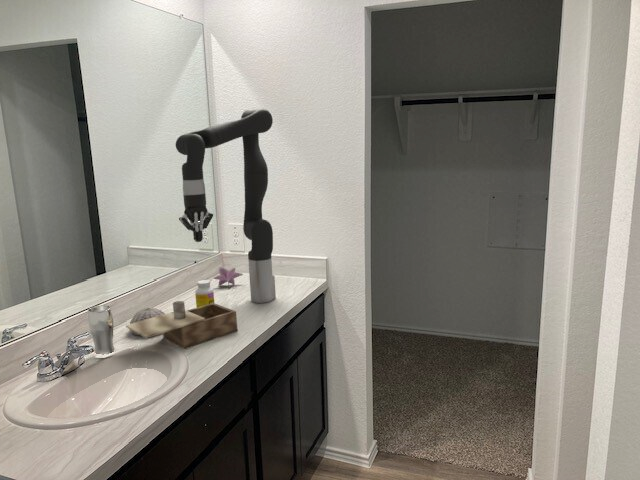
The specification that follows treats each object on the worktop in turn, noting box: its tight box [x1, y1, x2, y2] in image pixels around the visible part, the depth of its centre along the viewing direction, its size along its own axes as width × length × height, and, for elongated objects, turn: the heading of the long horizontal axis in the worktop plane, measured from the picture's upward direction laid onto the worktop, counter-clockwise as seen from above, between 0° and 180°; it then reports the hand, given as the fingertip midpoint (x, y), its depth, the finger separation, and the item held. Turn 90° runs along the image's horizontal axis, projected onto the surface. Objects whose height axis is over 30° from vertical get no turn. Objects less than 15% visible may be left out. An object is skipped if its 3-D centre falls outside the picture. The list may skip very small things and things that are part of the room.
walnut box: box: [162, 302, 238, 350], centre depth 171 cm, size 20×14×7 cm
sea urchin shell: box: [129, 307, 166, 336], centre depth 176 cm, size 13×14×8 cm
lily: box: [212, 267, 244, 290], centre depth 226 cm, size 12×12×10 cm
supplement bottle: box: [194, 279, 215, 308], centre depth 190 cm, size 7×7×13 cm
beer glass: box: [87, 304, 116, 355], centre depth 156 cm, size 7×7×15 cm
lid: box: [125, 300, 205, 339], centre depth 161 cm, size 20×14×6 cm
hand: (198, 241), depth 180 cm, fingers closed
